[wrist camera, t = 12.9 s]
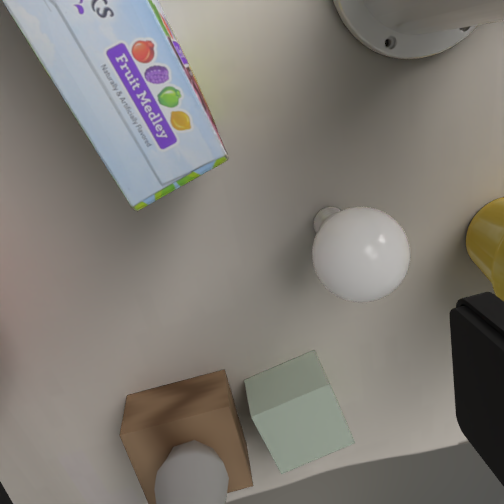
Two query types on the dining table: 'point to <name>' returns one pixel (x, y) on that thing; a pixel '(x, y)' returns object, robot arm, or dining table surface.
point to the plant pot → (489, 243)
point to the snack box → (126, 89)
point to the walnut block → (184, 428)
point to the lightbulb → (359, 253)
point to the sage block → (297, 412)
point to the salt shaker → (192, 476)
